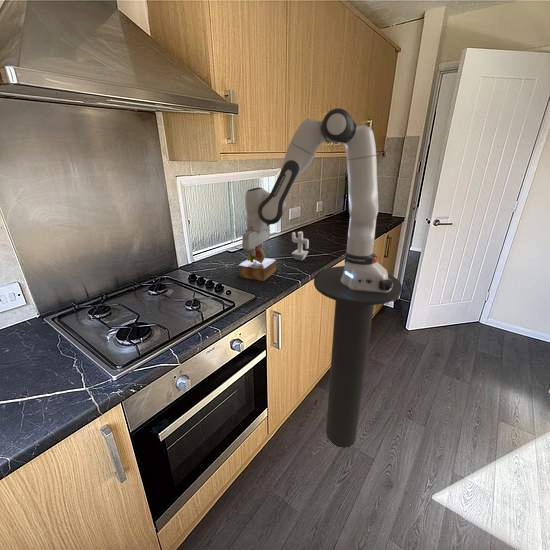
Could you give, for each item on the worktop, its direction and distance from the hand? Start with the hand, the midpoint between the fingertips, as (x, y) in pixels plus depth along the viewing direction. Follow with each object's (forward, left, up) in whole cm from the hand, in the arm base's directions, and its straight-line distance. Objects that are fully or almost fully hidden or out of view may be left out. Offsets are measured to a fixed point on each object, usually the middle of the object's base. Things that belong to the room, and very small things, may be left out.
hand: (257, 253), depth 138 cm
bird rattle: (0, 0, -4) cm, 4 cm away
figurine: (-11, -28, -11) cm, 32 cm away
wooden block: (0, 0, -10) cm, 10 cm away
